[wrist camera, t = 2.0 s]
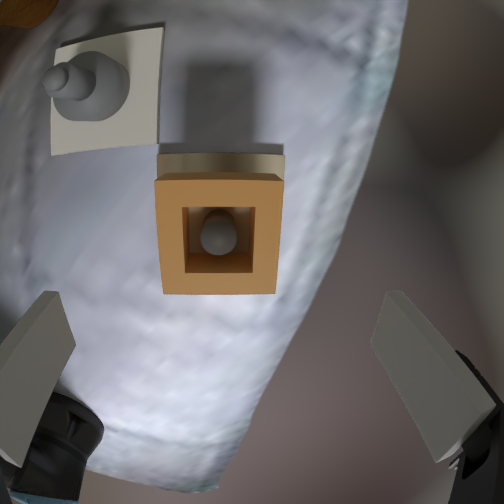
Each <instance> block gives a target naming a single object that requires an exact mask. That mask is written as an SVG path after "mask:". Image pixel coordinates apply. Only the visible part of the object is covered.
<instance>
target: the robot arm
mask: <svg viewBox="0 0 504 504" xmlns="http://www.w3.org/2000/svg"><path fill="white" fill-rule="evenodd" d="M370 345H371V346H372V348H373V350H374V351H375V353H376V355H377V357H378V358H379V360H380V362H381V363H382V365H383V367H384V369H385V370H386V372H387V374H388V375H389V377H390V379H391V381H392V382H393V384H394V386H395V387H396V389H397V391H398V393H399V395H400V396H401V398H402V400H403V401H404V404H405V405H406V407H407V409H408V411H409V413H410V414H411V416H412V418H413V420H414V422H415V424H416V426H417V428H418V429H419V431H420V433H421V435H422V437H423V439H424V441H425V443H426V445H427V447H428V449H429V451H430V453H431V455H432V457H433V459H434V461H435V462H436V463H437V462H439V461H441V460H443V459H445V458H447V457H449V456H451V455H452V454H453V453H454V452H456V450H458V448H459V447H460V446H462V448H463V452H461V454H459V455H458V457H456V458H455V459H454V460H453V461H452V462H451V463H450V465H449V468H452V467H453V466H454V465H455V464H456V463H457V462H458V461H459V462H458V465H457V466H456V467H455V468H454V469H455V470H457V472H456V476H455V480H454V484H453V488H452V492H451V495H450V499H449V502H448V504H504V403H503V402H502V401H501V400H500V399H499V397H498V396H497V395H496V393H495V392H494V391H493V389H492V388H491V387H490V386H489V384H488V383H487V382H486V380H485V379H484V378H483V376H481V374H480V373H479V371H478V370H477V369H475V366H474V365H473V364H472V363H471V361H470V360H469V359H468V358H467V357H466V356H464V355H463V354H461V353H460V352H459V351H457V350H456V351H454V350H453V349H452V347H451V346H450V345H449V344H448V342H447V341H446V340H445V339H444V338H443V337H442V335H441V334H440V333H439V332H438V331H437V330H436V329H435V327H434V326H433V325H432V324H431V323H430V322H429V321H428V319H427V318H426V317H425V316H424V315H423V314H422V313H421V312H420V311H419V310H418V309H417V307H416V306H415V305H414V304H413V303H412V302H411V301H410V300H409V299H408V298H407V297H406V295H404V293H403V292H402V291H387V292H386V294H385V297H384V301H383V304H382V307H381V311H380V314H379V317H378V321H377V323H376V327H375V330H374V333H373V336H372V339H371V341H370ZM75 346H76V343H75V340H74V337H73V335H72V332H71V329H70V326H69V323H68V320H67V317H66V314H65V311H64V308H63V305H62V302H61V298H60V295H59V292H57V291H44V292H43V293H42V294H41V295H40V296H39V297H38V299H37V300H36V301H35V302H34V303H33V304H32V306H31V307H30V308H29V309H28V310H27V312H26V313H25V314H24V315H23V316H22V318H21V319H20V320H19V321H18V323H17V324H16V325H15V326H14V328H13V329H12V330H11V331H10V333H9V334H8V335H7V337H6V338H5V339H4V341H3V342H2V343H1V345H0V504H12V501H11V498H13V499H15V500H16V501H18V502H20V503H23V504H78V503H79V501H78V500H79V495H80V490H81V485H82V480H83V476H84V471H85V467H86V463H87V460H88V458H89V456H90V455H91V454H92V453H93V451H94V450H95V449H96V447H97V446H98V444H99V443H100V442H101V440H102V437H103V433H104V427H103V425H102V423H101V421H100V420H99V419H98V418H97V417H96V416H95V415H94V414H93V413H92V412H91V411H89V410H88V409H87V408H85V407H84V406H82V405H81V404H79V403H77V402H75V401H74V400H72V399H70V398H67V397H65V396H63V395H60V394H57V393H52V392H53V390H54V387H55V385H56V383H57V381H58V379H59V377H60V375H61V373H62V371H63V369H64V367H65V365H66V363H67V361H68V359H69V357H70V356H71V354H72V352H73V350H74V348H75ZM7 487H8V488H10V491H9V492H10V496H11V498H10V496H9V493H8V490H7Z"/></svg>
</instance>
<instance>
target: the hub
mask: <svg viewBox="0 0 504 504" xmlns="http://www.w3.org/2000/svg"><path fill="white" fill-rule="evenodd" d="M164 34H165V30H164V28H163V27H160V28H151V29H144V30H137V31H130V32H124V33H119V34H114V35H109V36H104V37H99V38H95V39H91V40H87V41H83V42H79V43H75V44H72V45H68V46H65V47H62V48H59V49H56V54H55V62H54V66H53V67H51V68H50V69H48V71H47V72H46V73H45V75H44V77H43V86H44V88H45V91H46V93H47V94H48V95H49V96H50V97H51V156H53V155H59V154H66V153H72V152H80V151H87V150H95V149H104V148H113V147H124V146H136V145H151V144H159V111H160V86H161V69H162V56H163V44H164Z"/></svg>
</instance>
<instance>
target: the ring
mask: <svg viewBox="0 0 504 504" xmlns="http://www.w3.org/2000/svg"><path fill="white" fill-rule="evenodd" d="M154 183H155V206H156V222H157V236H158V248H159V259H160V269H161V278H162V287H163V294H184V295H239V294H275V292H276V281H277V270H278V258H279V246H280V233H281V220H282V206H283V191H284V181H283V180H282V179H281V178H280V177H278V176H277V175H276V174H275V173H243V172H185V173H165V174H163V175H162V176H160V177H159V178H158V179H156V180H155V181H154ZM189 207H250V224H249V250H248V253H227V254H224V255H213V254H211V253H190V239H189Z"/></svg>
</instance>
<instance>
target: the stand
mask: <svg viewBox="0 0 504 504" xmlns="http://www.w3.org/2000/svg"><path fill="white" fill-rule="evenodd" d="M284 171H285V155H281V154H261V153H167V154H157V179H158V178H159V177H160V176H162V175H163V174H165V173H185V172H243V173H275V174H276V175H277V176H278V177H280V178H281V179H282V180H283V181H284ZM249 224H250V207H189V239H190V253H211V254H213V255H224V254H227V253H248V250H249Z"/></svg>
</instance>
